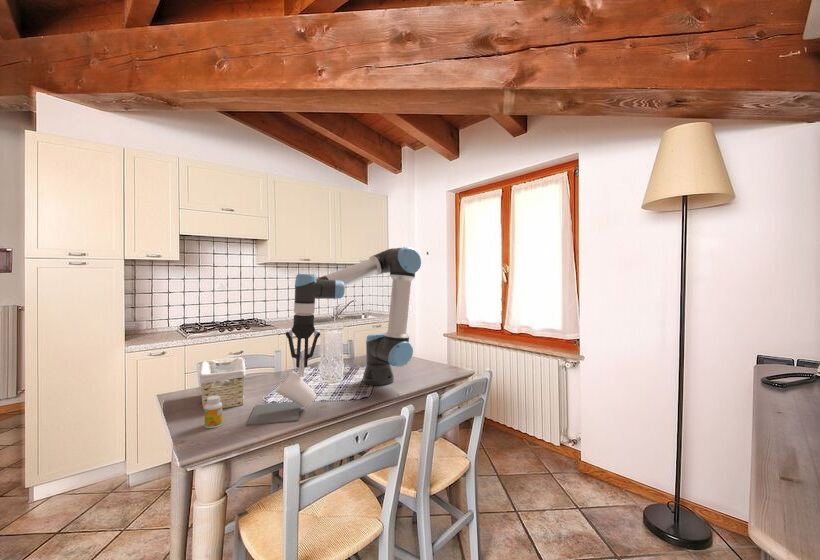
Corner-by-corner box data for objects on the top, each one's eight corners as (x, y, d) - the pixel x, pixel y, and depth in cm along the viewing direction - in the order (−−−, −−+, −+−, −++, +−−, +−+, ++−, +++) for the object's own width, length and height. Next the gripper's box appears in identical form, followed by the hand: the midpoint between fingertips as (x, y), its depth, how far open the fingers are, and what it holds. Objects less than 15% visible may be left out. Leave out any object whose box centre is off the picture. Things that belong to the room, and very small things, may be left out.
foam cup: (299, 415, 136) (271, 394, 134) (310, 396, 144) (285, 376, 141) (310, 406, 131) (282, 385, 129) (322, 387, 138) (296, 366, 136)
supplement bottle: (200, 428, 121) (200, 399, 120) (212, 421, 126) (212, 394, 126) (215, 429, 120) (214, 400, 119) (226, 422, 125) (225, 395, 125)
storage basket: (246, 406, 140) (246, 369, 140) (198, 413, 133) (198, 374, 133) (243, 388, 162) (243, 356, 161) (202, 394, 154) (202, 360, 154)
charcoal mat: (300, 402, 144) (300, 401, 144) (298, 420, 127) (298, 419, 127) (255, 406, 140) (255, 404, 140) (246, 425, 123) (246, 424, 123)
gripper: (322, 313, 141) (319, 372, 141) (286, 312, 138) (284, 373, 138) (322, 315, 134) (319, 378, 134) (284, 314, 131) (281, 378, 131)
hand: (301, 375), depth 136 cm, fingers closed
